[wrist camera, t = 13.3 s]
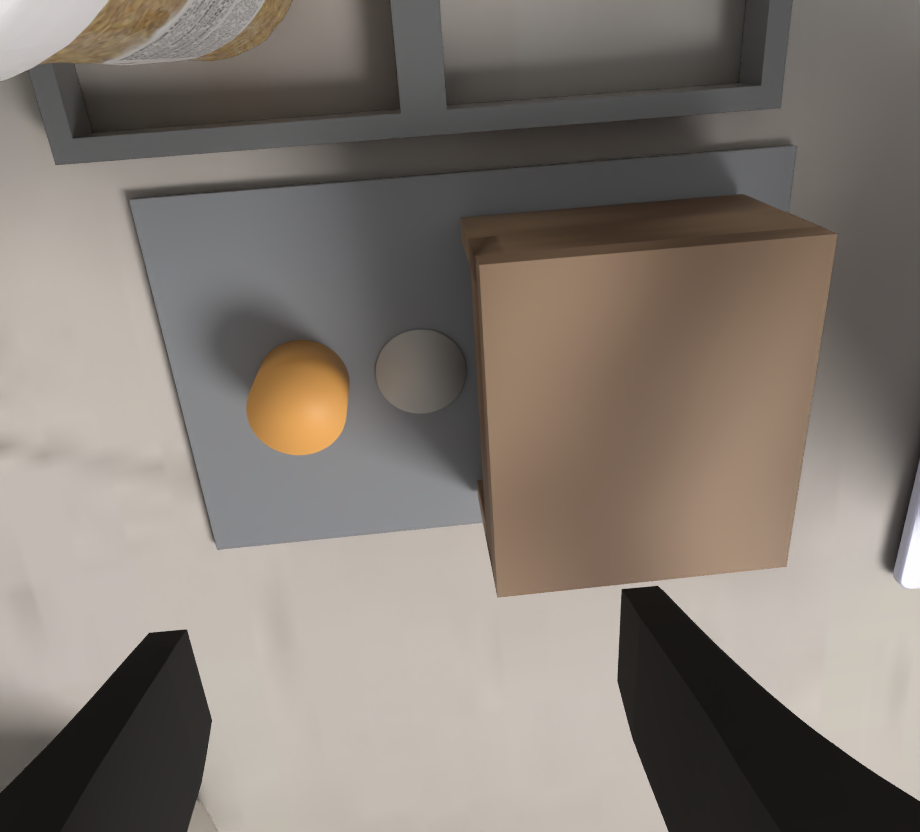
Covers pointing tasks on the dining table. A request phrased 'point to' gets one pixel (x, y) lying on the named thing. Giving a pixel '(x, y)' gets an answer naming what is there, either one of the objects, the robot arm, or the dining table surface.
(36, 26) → the spice jar
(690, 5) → the dining table surface
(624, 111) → the socket frames
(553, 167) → the board
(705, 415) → the cardboard box
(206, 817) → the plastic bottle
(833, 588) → the dining table surface
